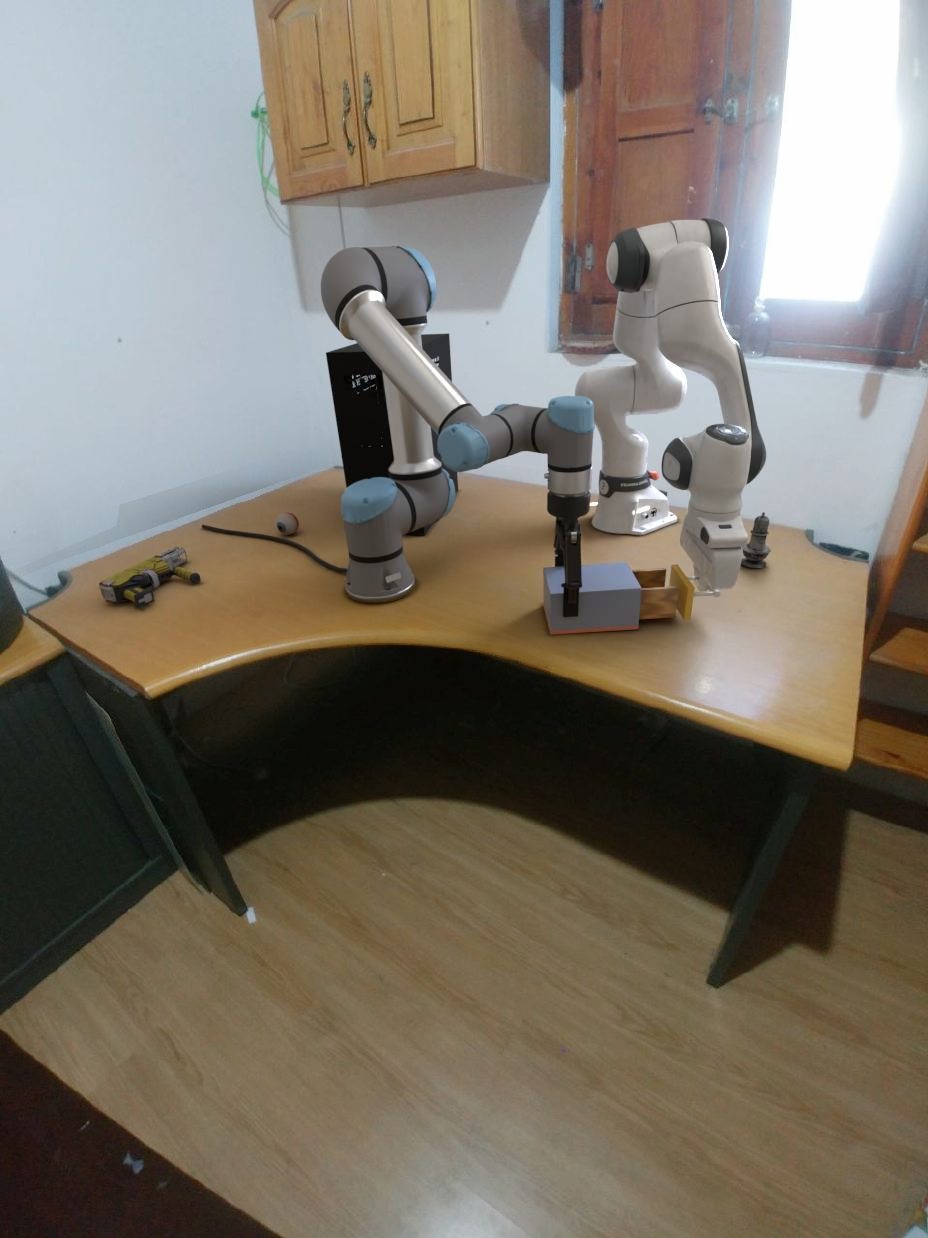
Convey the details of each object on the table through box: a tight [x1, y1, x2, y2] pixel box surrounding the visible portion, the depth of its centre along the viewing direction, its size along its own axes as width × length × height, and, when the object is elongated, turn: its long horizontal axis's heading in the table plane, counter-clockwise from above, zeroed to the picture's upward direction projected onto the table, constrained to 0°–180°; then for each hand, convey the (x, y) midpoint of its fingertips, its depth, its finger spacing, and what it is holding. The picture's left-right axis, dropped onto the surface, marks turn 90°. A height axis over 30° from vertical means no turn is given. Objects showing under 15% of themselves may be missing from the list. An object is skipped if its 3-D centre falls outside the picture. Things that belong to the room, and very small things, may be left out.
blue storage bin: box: [542, 561, 642, 635], centre depth 116 cm, size 16×11×9 cm
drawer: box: [631, 564, 722, 621], centre depth 116 cm, size 21×10×7 cm, turn 90°
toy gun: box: [98, 546, 201, 609], centre depth 140 cm, size 5×24×15 cm
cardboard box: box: [325, 333, 459, 536], centre depth 166 cm, size 38×20×45 cm, turn 167°
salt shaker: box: [741, 511, 772, 569], centre depth 132 cm, size 6×6×12 cm
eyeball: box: [275, 511, 300, 536], centre depth 163 cm, size 6×6×6 cm
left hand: (565, 600), depth 116 cm, fingers closed on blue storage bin, 11 cm apart
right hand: (700, 587), depth 115 cm, fingers closed, pressing on drawer
